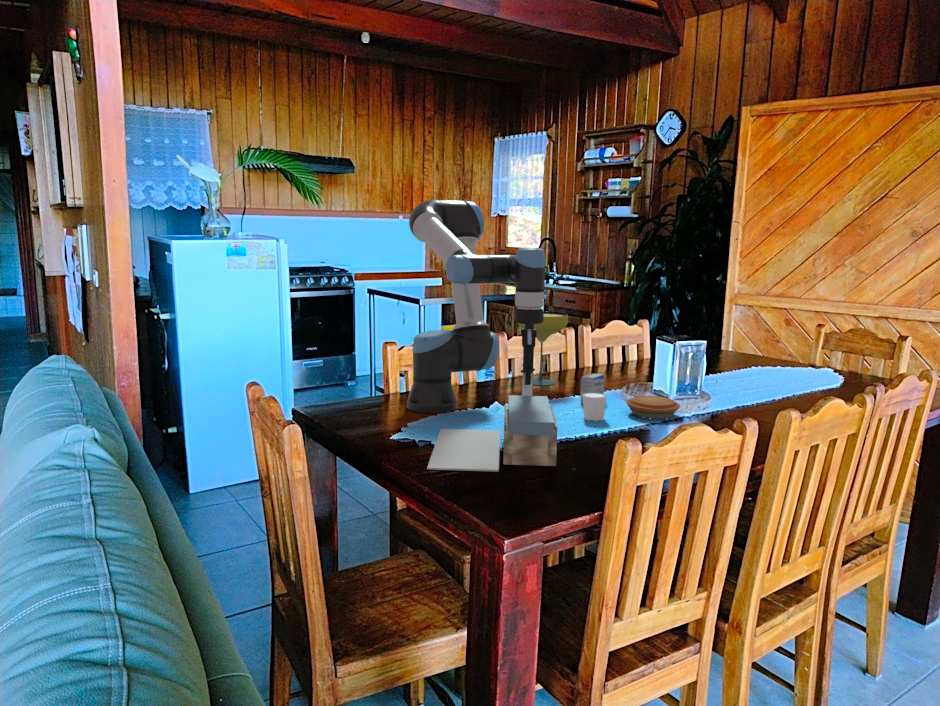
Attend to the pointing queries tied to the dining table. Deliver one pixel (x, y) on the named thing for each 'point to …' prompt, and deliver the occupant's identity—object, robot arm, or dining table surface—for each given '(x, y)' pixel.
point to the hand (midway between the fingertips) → (527, 395)
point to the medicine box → (592, 384)
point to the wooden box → (529, 447)
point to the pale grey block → (530, 416)
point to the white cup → (594, 406)
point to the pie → (652, 407)
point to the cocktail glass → (544, 330)
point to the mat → (466, 450)
